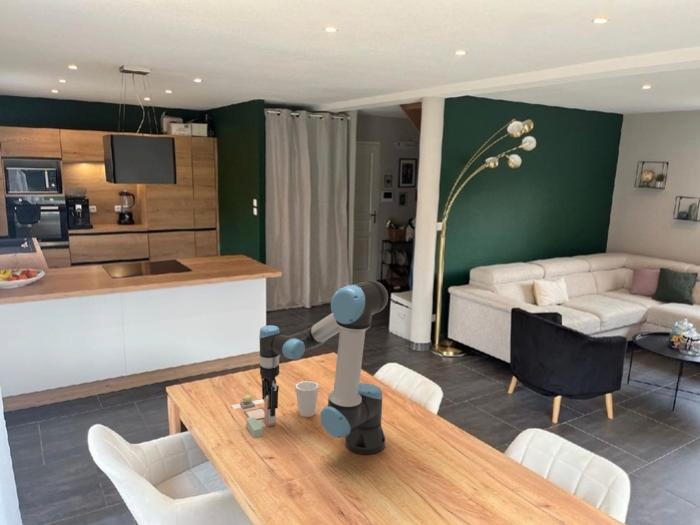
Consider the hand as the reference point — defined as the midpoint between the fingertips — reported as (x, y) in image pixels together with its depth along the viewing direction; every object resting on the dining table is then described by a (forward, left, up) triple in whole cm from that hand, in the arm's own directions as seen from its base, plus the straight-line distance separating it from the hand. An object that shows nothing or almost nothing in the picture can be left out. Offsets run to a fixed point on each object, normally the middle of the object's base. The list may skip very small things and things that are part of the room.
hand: (270, 420), depth 207 cm
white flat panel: (+9, +2, -2) cm, 10 cm away
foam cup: (+2, -17, -3) cm, 17 cm away
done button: (+20, +3, +1) cm, 20 cm away
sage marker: (-3, +8, -1) cm, 8 cm away
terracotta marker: (0, 0, -2) cm, 2 cm away
